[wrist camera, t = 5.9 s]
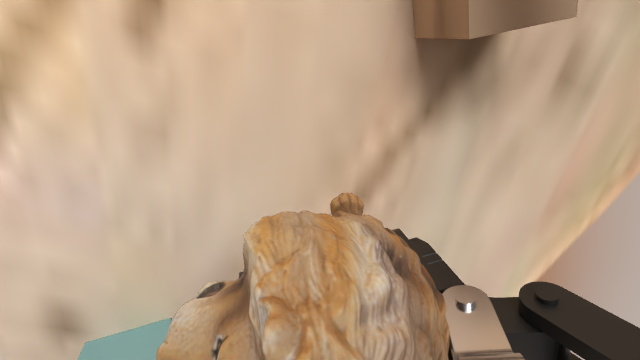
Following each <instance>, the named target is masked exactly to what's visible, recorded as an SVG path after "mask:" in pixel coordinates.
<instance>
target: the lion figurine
mask: <svg viewBox="0 0 640 360" xmlns="http://www.w3.org/2000/svg"><path fill="white" fill-rule="evenodd" d="M330 207H331V214H332V216H330V215H328V214H314V213H311V212H309V211H302V212H300V213H295V212H281V213H279V214H276V215H274V216H271V217H269V216H266V217H263V218H262V219H261V220H260V221H259V222H256V223H254V224H253V225H252V226H251V227H250V229H249V230H248V231H247V232H246V233H245V234H244V235H243V237H244V241H245V242H244V248H243V256H244V273H243V274H242V276H241V277H240V278H239V279H238V280H236V281H222V282H210V283H207V284H206V285H205V286H204V287H203V288H202V289H201V290H200V291H199V293H198V296H197V298H196V299H193V300H191V301H189V302H187V303H185V304H184V305H183V306H182V307H181V308H180V309H179V310H178V311H177V313H176V314H175V316H174V318H173V320H172V322H171V324H170V326H169V329H168V332H167V335H166V338H165V340H164V342H163V343H162V344H161V345H160V346H159V348H158V349H157V354H156V360H449V359H448V351H449V339H450V330H449V325H448V323H447V320H446V316H445V313H446V303H445V300H444V297H443V295H442V294H441V293H440V292H439V291H438V290H436V287H435V284H434V281H433V280H432V278H431V276H430V275H429V273H428V272H427V270H426V269H425V267H424V266H423V265H422V264H421V263H420V259H419V256H418V255H417V253H416V252H415V251H414V250H412V249H411V248H410V247H409V246H408V244H407V243H406V242H405V241H404V240H403V239H402V238H401V237H400V236H398V235H397V234H396V233H395V232H394V231H392V230H390V229H388V228H384V227H383V225H382V222H381V221H379V220H377V219H376V218H374V217H372V216H370V215H362V213H363V208H364V205H363V201H362V200H361V199H360V198H359V197H358V196H356V195H354V194H352V193H342V194H340V195H339V196H337V197H336V198H334V199H333V200H332V201H331V204H330Z"/></svg>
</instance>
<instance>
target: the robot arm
mask: <svg viewBox="0 0 640 360" xmlns="http://www.w3.org/2000/svg"><path fill="white" fill-rule="evenodd" d="M392 231H394V232H395V233H396V234H397V235H398V236H400V237H401V238H402V239H403V240H404V241H405V242H406V243H407V244H408V246H409V247H410V248H411V249H412V250H414V251H415V252H416V253H417V255H418V256H419V259H420V263H421V264H422V265H423V266H424V267H425V269H426V270H427V272H428V273H429V275H430V276H431V278H432V280H433V281H434V284H435V287H436V290H438V291H439V292H440V293H441V294H442V295H443V297H444V300H445V303H446V313H445V316H446V320H447V323H448V325H449V330H450V339H449V351H448V359H449V360H581V359H580V358H578V357H577V356H575V355H574V354H572V353H571V352H570V350H572V351H573V352H574V353H576V354H577V355H579V356H580V357H582V358H583V359H585V360H640V328H638V327H636V326H635V325H633V324H631V323H629V322H627V321H625V320H623V319H621V318H619V317H617V316H616V315H614V314H612V313H610V312H608V311H606V310H604V309H602V308H600V307H598V306H597V305H595V304H593V303H591V302H589V301H587V300H585V299H583V298H581V297H579V296H578V295H575V294H574V293H572V292H570V291H568V290H566V289H564V288H562V287H560V286H558V285H555V284H552V283H547V282H531V283H528V284H526V285H524V286H523V287H522V288H521V289H520V291H519V297H507V298H492V297H488V296H487V294H485V293H484V292H483V291H482V290H480V289H478V288H475V287H472V286H468V285H465V284H464V283H463V282H462V281H461V280H460V279H459V278H458V276H457V275H456V274H455V273H454V272H453V271H452V270H451V269H450V267H449V266H448V265H447V264H446V263H445V262H444V261H442V258H441V257H440V256H439V255H438V254H436V252H435V251H434V249H433V248H432V247H431V246H430V245H429V244H428V243H426V242H424V241H422V240H420V239H418V238H413V239H409V240H408V238H407V237H406V236H405V235H404V233H403V232H402V231H401V230H400V229H399V228H398V229H395V230H392ZM243 273H244V271H243V272H240V273H239V278H240V277H241V276H242V274H243Z"/></svg>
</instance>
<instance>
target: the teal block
mask: <svg viewBox="0 0 640 360" xmlns="http://www.w3.org/2000/svg"><path fill="white" fill-rule="evenodd" d="M171 322H172V318H169V319H166V320H162V321H159V322H155V323H152V324H149V325H145V326H142V327H138V328H135V329H131V330H128V331H124V332H121V333H118V334H114V335H111V336H107V337H104V338H100V339H97V340H93V341H90V342H86V343H85V345H84V347H83V349H82V351H81V353H80V356H79V358H78V360H156V354H157V349H158V348H159V346H160V345H161V344H162V343H163V342H164V340H165V338H166V335H167V332H168V329H169V326H170V324H171Z"/></svg>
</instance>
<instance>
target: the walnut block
mask: <svg viewBox="0 0 640 360" xmlns="http://www.w3.org/2000/svg"><path fill="white" fill-rule="evenodd" d="M412 3H413V18H414V33H415V38H437V39H473V38H478V37H483V36H488V35H492V34H497V33H502V32H506V31H511V30H516V29H521V28H525V27H530V26H535V25H539V24H544V23H549V22H554V21H558V20H563V19H568V18H572V17H576V15H577V4H578V0H412Z"/></svg>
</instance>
